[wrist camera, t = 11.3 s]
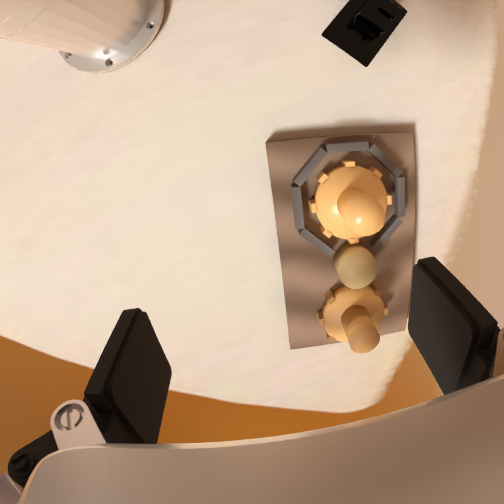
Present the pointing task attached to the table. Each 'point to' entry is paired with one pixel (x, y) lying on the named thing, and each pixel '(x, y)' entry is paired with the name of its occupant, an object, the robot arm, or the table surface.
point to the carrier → (343, 242)
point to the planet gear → (350, 201)
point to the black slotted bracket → (364, 27)
